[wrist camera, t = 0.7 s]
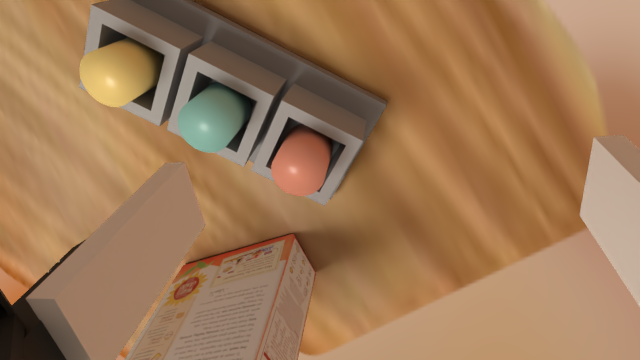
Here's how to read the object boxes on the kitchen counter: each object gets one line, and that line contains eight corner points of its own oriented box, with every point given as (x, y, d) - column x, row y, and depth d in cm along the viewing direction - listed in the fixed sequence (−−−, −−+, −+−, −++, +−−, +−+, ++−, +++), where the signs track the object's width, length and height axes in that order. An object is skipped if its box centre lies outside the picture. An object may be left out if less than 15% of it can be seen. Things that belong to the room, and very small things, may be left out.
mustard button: (112, 73, 32) (76, 91, 28) (121, 27, 30) (83, 39, 26) (158, 95, 32) (128, 116, 29) (170, 51, 31) (139, 67, 27)
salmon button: (277, 154, 33) (263, 181, 30) (296, 114, 31) (283, 138, 28) (320, 175, 34) (311, 204, 30) (341, 137, 32) (334, 163, 28)
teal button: (196, 114, 33) (171, 137, 29) (210, 71, 31) (185, 90, 27) (241, 136, 33) (221, 161, 29) (257, 95, 31) (239, 116, 28)
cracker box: (210, 301, 48) (102, 516, 30) (182, 262, 46) (46, 471, 28) (320, 275, 44) (268, 511, 26) (295, 230, 41) (218, 456, 23)
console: (105, 83, 36) (66, 103, 32) (126, -34, 31) (83, -29, 27) (332, 193, 38) (324, 226, 34) (386, 101, 33) (385, 125, 29)
